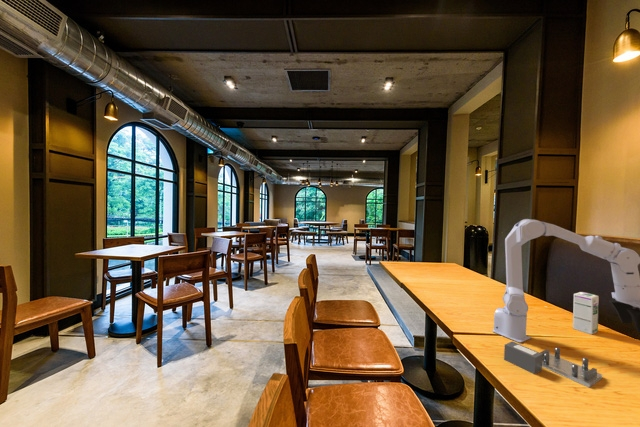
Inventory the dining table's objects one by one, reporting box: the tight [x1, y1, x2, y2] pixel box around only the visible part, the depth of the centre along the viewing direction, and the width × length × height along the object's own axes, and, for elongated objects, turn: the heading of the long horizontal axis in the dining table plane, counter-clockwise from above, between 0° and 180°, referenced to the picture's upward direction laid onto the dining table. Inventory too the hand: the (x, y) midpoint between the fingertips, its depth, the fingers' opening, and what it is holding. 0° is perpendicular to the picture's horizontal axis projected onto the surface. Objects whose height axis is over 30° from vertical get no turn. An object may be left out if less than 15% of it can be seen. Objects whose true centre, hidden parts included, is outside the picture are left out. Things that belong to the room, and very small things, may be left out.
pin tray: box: [539, 346, 603, 388], centre depth 77 cm, size 13×9×4 cm
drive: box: [503, 341, 543, 375], centre depth 79 cm, size 8×4×5 cm, turn 28°
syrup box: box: [572, 291, 600, 335], centre depth 104 cm, size 6×6×14 cm
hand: (634, 327), depth 83 cm, fingers open, 7 cm apart
